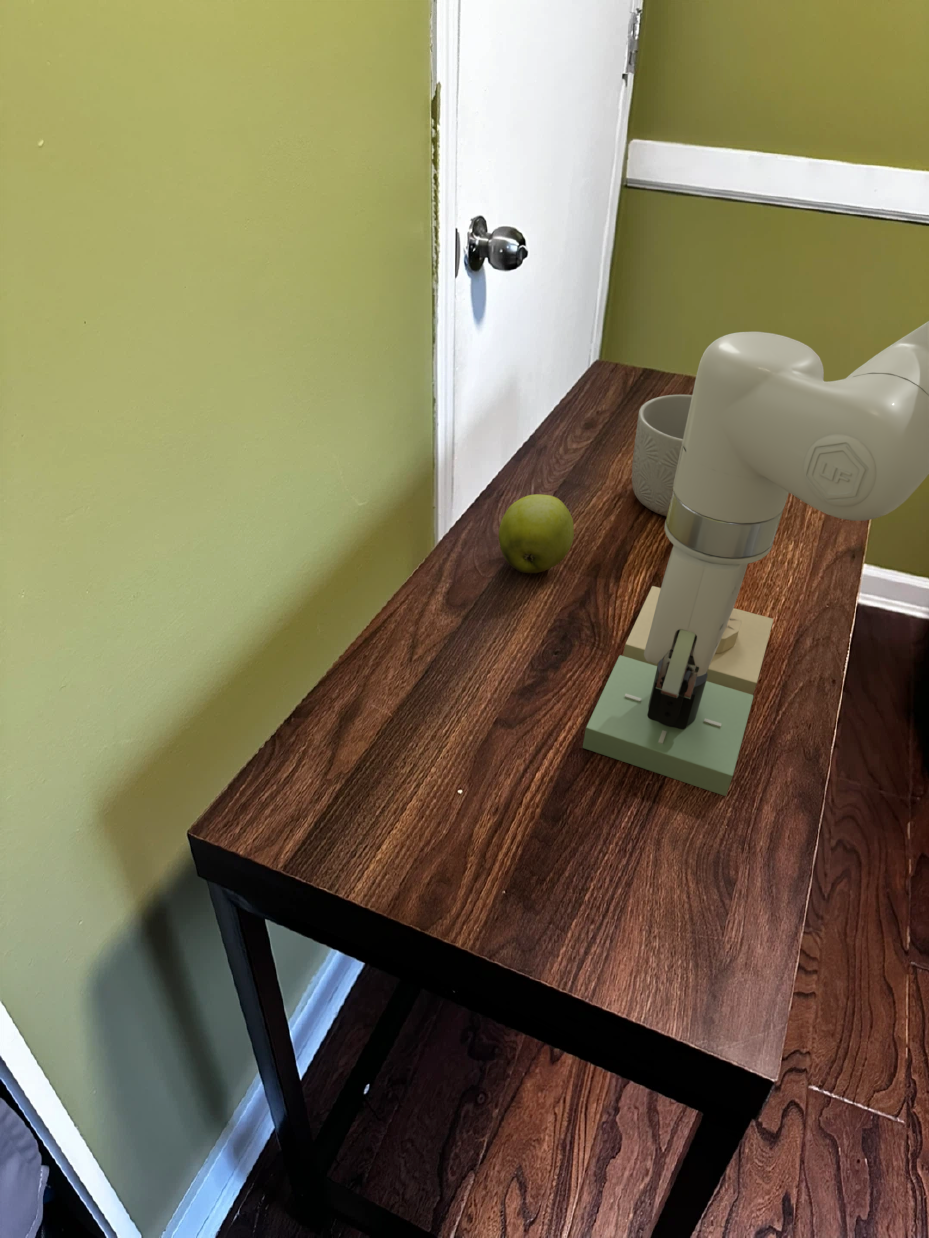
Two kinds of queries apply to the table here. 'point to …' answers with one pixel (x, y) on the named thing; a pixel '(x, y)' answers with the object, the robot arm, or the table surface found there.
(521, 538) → the apple
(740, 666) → the button base
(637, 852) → the table surface
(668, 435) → the planter
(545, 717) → the table surface
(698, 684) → the dial
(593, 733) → the dial base
